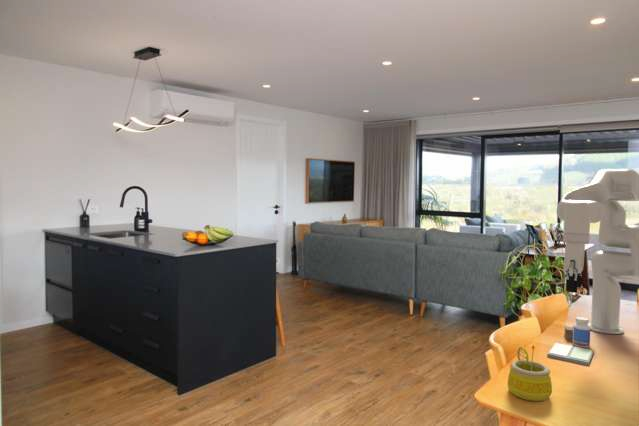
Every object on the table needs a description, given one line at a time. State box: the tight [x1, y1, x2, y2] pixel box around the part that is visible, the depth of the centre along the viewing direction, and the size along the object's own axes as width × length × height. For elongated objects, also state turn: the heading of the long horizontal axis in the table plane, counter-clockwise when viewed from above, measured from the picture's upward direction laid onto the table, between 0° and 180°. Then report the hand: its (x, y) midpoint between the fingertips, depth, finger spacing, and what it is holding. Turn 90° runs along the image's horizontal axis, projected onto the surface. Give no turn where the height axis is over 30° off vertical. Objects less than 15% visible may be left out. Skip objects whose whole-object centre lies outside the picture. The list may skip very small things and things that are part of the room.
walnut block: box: [563, 325, 573, 341], centre depth 171 cm, size 4×4×4 cm
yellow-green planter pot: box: [507, 345, 553, 402], centre depth 125 cm, size 13×11×12 cm
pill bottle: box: [572, 316, 591, 349], centre depth 164 cm, size 6×5×10 cm
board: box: [546, 342, 595, 366], centre depth 155 cm, size 14×12×1 cm
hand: (573, 289), depth 154 cm, fingers open, 9 cm apart
